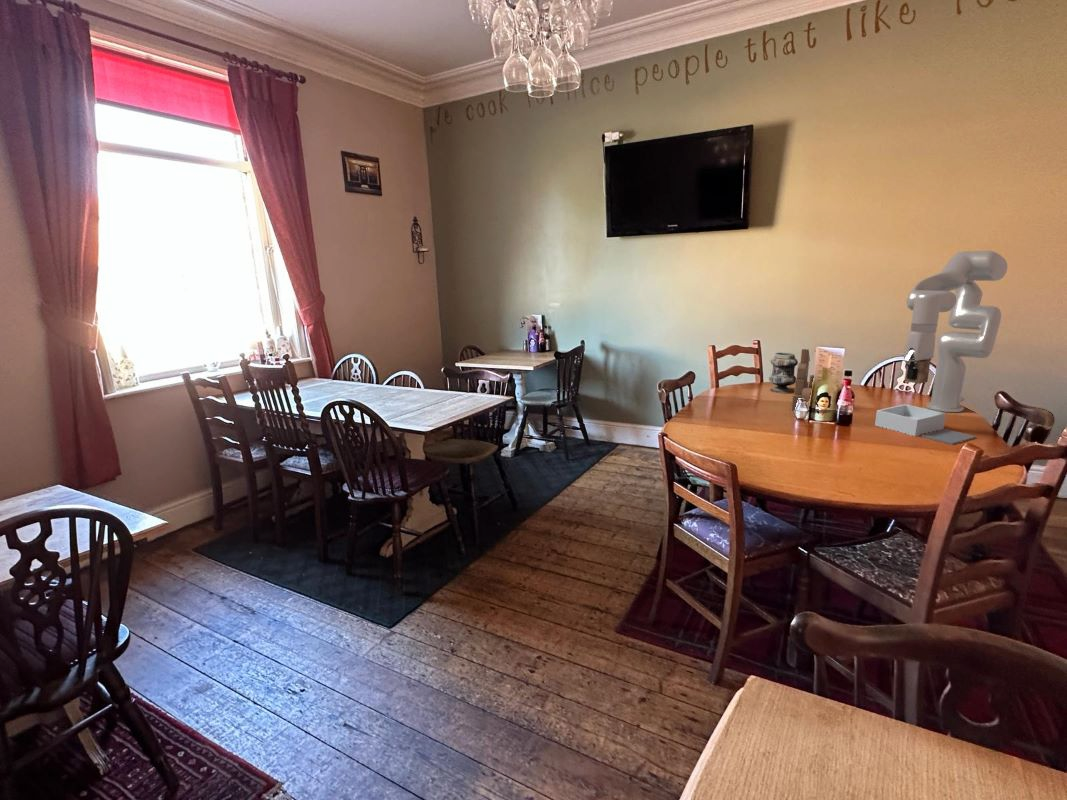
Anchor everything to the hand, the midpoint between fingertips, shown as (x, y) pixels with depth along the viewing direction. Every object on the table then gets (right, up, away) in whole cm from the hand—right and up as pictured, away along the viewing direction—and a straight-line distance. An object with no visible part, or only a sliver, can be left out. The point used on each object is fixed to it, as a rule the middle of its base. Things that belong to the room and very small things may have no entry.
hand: (916, 377), depth 197 cm
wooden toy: (-24, -11, +35) cm, 43 cm away
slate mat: (+6, -21, -7) cm, 23 cm away
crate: (0, -18, +5) cm, 19 cm away
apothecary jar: (-20, -4, +63) cm, 66 cm away
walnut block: (0, -1, 0) cm, 1 cm away
